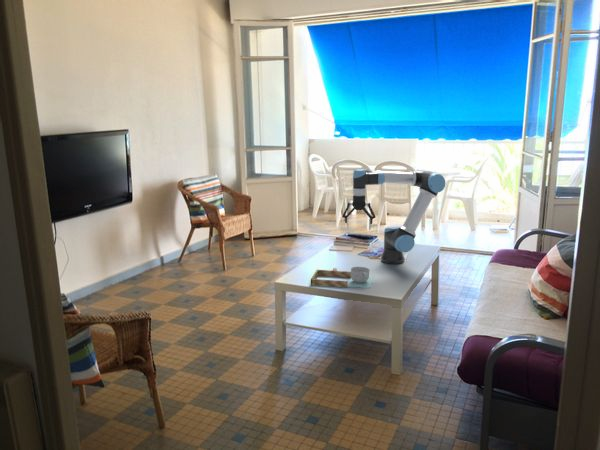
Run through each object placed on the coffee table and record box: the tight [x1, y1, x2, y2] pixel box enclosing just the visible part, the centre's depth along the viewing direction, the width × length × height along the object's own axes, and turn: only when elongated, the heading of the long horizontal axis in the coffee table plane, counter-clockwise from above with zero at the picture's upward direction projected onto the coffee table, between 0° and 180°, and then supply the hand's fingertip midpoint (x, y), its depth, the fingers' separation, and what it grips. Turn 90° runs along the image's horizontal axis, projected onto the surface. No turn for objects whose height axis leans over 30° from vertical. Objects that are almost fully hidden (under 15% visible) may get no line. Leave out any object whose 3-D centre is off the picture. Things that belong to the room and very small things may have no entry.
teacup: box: [350, 266, 370, 283], centre depth 307 cm, size 14×11×8 cm
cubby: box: [310, 269, 351, 288], centre depth 311 cm, size 22×19×4 cm
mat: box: [347, 278, 373, 289], centre depth 308 cm, size 13×16×1 cm
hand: (358, 228), depth 326 cm, fingers open, 13 cm apart
